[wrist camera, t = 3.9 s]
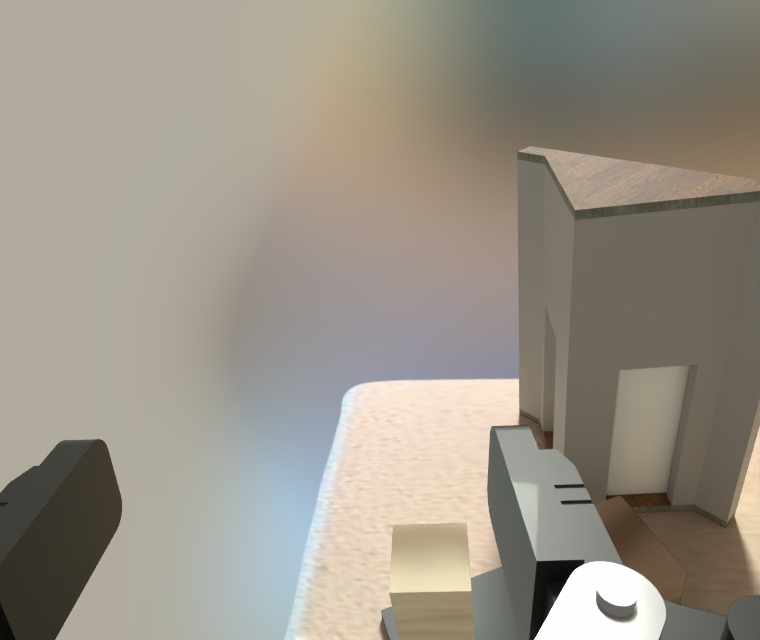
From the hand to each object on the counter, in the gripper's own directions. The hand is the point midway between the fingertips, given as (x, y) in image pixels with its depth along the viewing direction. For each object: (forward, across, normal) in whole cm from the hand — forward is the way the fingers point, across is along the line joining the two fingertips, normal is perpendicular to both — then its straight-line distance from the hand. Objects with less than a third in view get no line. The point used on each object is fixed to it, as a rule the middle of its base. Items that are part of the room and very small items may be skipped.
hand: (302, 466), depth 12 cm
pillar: (+17, +5, -30) cm, 35 cm away
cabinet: (+32, +20, -28) cm, 47 cm away
